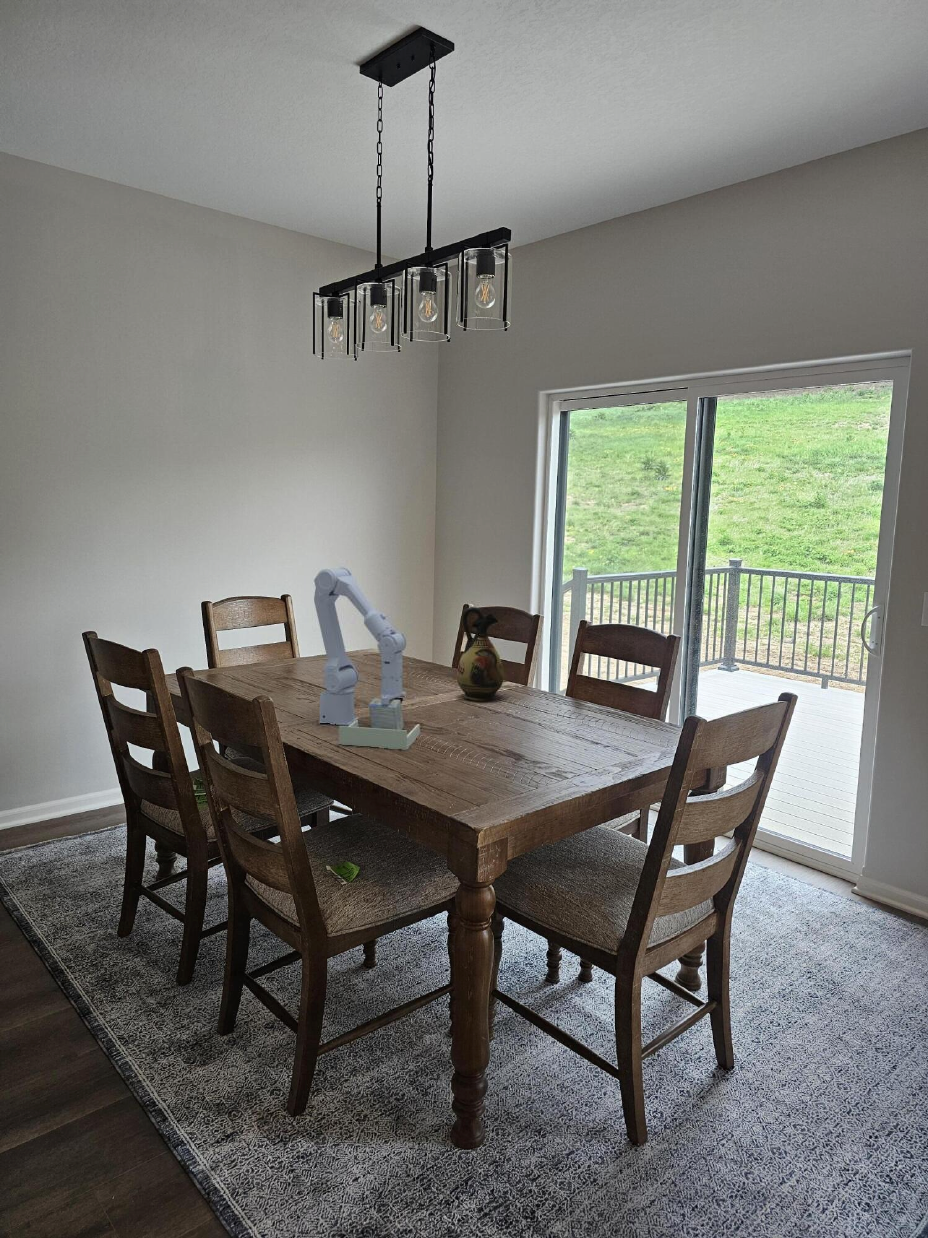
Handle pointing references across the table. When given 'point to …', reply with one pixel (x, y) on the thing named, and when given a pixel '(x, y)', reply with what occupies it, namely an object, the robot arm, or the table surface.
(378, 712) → the medicine box
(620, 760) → the table surface
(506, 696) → the table surface
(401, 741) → the box
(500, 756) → the table surface
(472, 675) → the ceramic jug
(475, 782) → the table surface
